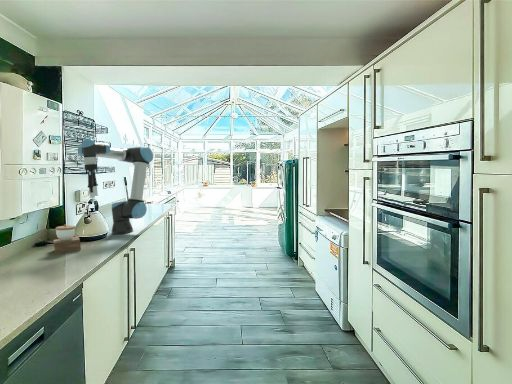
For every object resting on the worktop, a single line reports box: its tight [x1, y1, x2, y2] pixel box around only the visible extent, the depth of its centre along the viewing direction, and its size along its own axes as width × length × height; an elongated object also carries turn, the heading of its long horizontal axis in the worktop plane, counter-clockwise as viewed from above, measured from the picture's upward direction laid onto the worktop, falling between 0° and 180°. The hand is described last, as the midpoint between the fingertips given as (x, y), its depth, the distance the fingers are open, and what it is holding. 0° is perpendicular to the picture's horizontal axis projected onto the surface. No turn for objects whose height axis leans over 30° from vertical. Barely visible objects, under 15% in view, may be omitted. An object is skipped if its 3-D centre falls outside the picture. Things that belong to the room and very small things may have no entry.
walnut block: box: [53, 235, 82, 255], centre depth 244 cm, size 14×14×7 cm
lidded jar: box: [55, 223, 76, 240], centre depth 243 cm, size 11×11×9 cm
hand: (94, 196), depth 256 cm, fingers open, 13 cm apart
